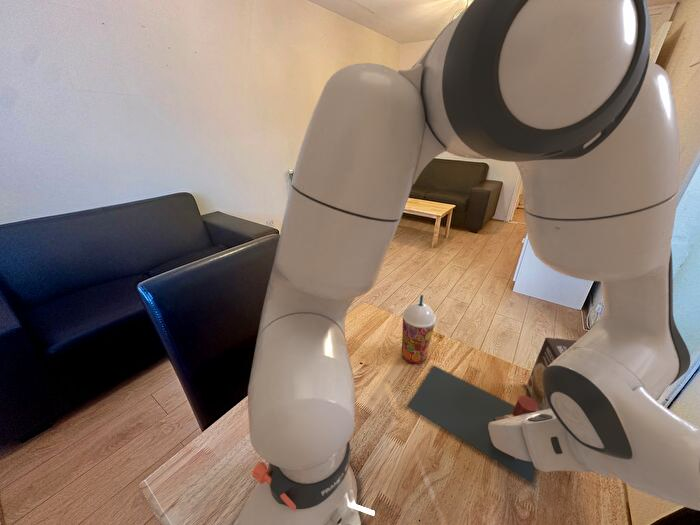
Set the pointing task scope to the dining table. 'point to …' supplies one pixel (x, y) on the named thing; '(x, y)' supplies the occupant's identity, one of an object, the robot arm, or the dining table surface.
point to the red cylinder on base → (522, 407)
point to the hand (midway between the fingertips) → (518, 417)
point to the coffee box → (546, 356)
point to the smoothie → (417, 331)
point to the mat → (466, 415)
